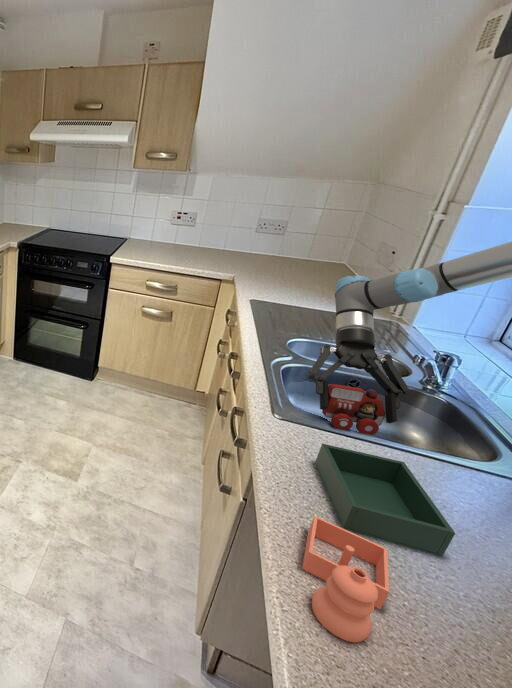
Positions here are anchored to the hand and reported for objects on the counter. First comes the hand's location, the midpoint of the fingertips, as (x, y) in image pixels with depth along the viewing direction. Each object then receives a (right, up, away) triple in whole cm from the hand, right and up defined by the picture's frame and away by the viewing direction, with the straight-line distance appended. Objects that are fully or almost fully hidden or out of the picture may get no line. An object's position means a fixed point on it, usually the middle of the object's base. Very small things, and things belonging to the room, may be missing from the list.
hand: (357, 415), depth 98 cm
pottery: (-33, -18, -35) cm, 51 cm away
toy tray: (-15, -12, -20) cm, 27 cm away
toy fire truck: (+1, -4, +4) cm, 5 cm away
